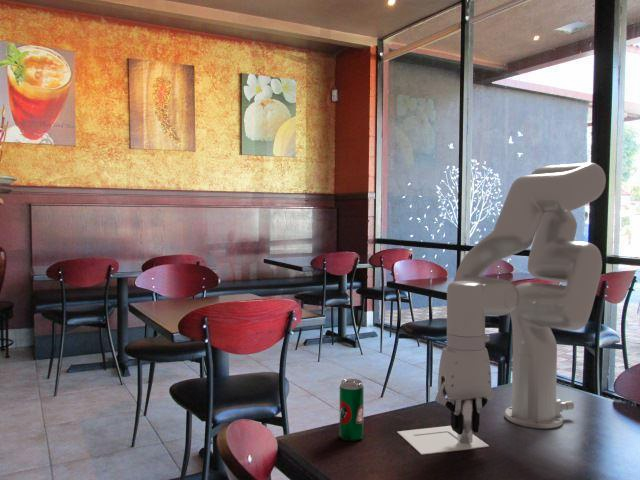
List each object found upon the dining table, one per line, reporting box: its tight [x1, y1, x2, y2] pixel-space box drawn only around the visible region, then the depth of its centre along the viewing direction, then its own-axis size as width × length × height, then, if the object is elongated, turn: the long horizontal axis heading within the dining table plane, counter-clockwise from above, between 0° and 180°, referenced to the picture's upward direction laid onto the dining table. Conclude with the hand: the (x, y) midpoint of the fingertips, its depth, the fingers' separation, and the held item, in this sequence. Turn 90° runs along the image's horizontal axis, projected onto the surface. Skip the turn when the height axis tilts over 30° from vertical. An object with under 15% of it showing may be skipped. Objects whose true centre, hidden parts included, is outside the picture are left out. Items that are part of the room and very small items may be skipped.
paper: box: [397, 425, 490, 456], centre depth 118 cm, size 15×12×1 cm
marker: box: [458, 399, 474, 444], centre depth 115 cm, size 3×3×11 cm
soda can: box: [339, 378, 365, 442], centre depth 119 cm, size 5×5×12 cm
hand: (465, 430), depth 115 cm, fingers closed on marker, 3 cm apart
